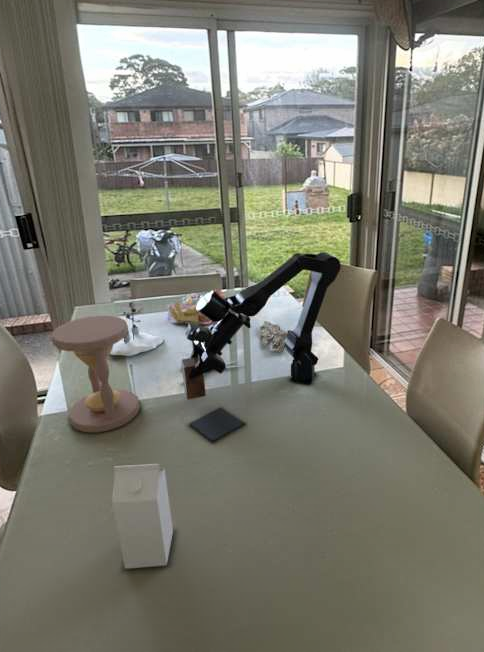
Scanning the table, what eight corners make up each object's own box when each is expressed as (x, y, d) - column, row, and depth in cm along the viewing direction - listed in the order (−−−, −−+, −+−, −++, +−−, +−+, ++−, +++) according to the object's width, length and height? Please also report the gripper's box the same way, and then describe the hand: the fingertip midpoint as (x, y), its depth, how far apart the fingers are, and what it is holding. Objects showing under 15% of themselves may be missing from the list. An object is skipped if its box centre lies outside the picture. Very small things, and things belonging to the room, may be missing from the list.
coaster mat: (220, 409, 120) (220, 407, 120) (244, 424, 113) (244, 422, 113) (189, 425, 113) (189, 423, 113) (213, 442, 107) (212, 440, 107)
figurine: (138, 361, 144) (134, 313, 140) (93, 354, 149) (88, 307, 145) (172, 341, 162) (170, 299, 158) (131, 336, 168) (127, 294, 163)
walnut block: (202, 387, 126) (199, 356, 122) (205, 396, 122) (202, 364, 118) (184, 390, 124) (181, 359, 121) (187, 399, 120) (184, 367, 116)
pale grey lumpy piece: (298, 344, 151) (290, 333, 149) (274, 363, 150) (265, 352, 148) (277, 323, 174) (270, 314, 172) (256, 339, 173) (249, 330, 171)
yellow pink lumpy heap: (221, 327, 172) (220, 305, 169) (162, 327, 172) (159, 305, 169) (230, 304, 195) (229, 284, 192) (177, 304, 196) (175, 285, 192)
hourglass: (71, 403, 123) (53, 321, 114) (136, 390, 129) (124, 311, 120) (69, 440, 108) (48, 349, 99) (143, 423, 114) (130, 335, 105)
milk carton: (134, 534, 82) (119, 452, 75) (173, 532, 83) (162, 449, 76) (124, 569, 76) (107, 482, 69) (166, 566, 76) (154, 479, 69)
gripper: (195, 302, 124) (159, 344, 124) (209, 327, 108) (168, 375, 108) (224, 323, 129) (190, 364, 130) (242, 350, 113) (203, 396, 114)
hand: (187, 373), depth 120 cm, fingers closed on walnut block, 5 cm apart
